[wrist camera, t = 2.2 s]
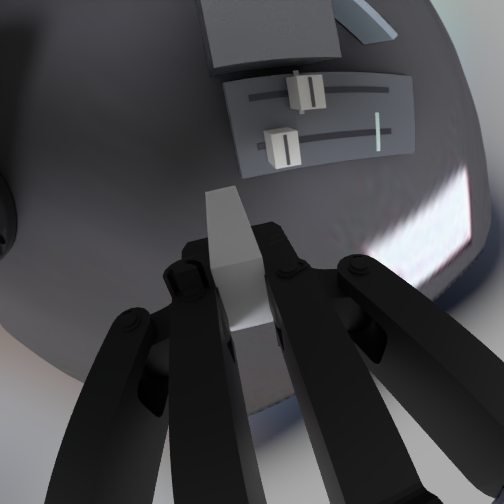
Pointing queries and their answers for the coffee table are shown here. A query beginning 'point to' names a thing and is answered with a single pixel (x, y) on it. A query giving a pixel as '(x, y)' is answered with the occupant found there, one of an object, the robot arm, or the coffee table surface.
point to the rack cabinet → (266, 33)
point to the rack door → (362, 21)
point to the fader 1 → (282, 147)
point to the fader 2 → (306, 92)
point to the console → (322, 118)
